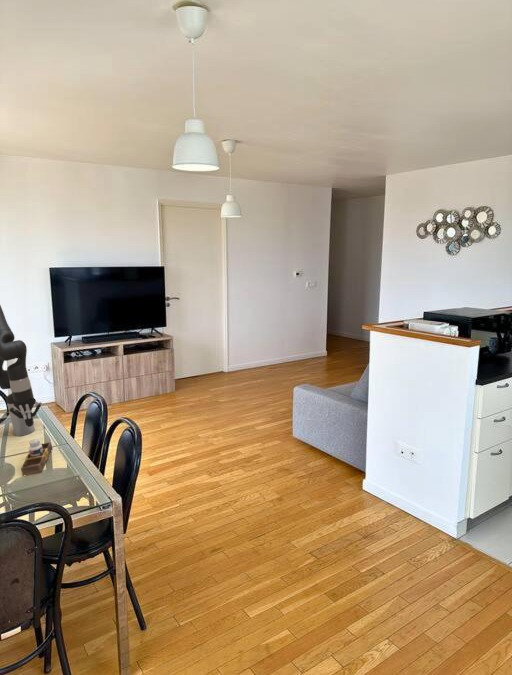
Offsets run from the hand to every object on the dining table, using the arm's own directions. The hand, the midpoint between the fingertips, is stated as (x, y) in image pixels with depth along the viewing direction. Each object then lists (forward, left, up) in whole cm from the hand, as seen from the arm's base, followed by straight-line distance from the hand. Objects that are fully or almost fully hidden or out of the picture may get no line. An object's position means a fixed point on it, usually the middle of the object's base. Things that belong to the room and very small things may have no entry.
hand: (30, 425), depth 198 cm
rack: (0, 0, -17) cm, 17 cm away
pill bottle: (0, 0, -16) cm, 16 cm away
